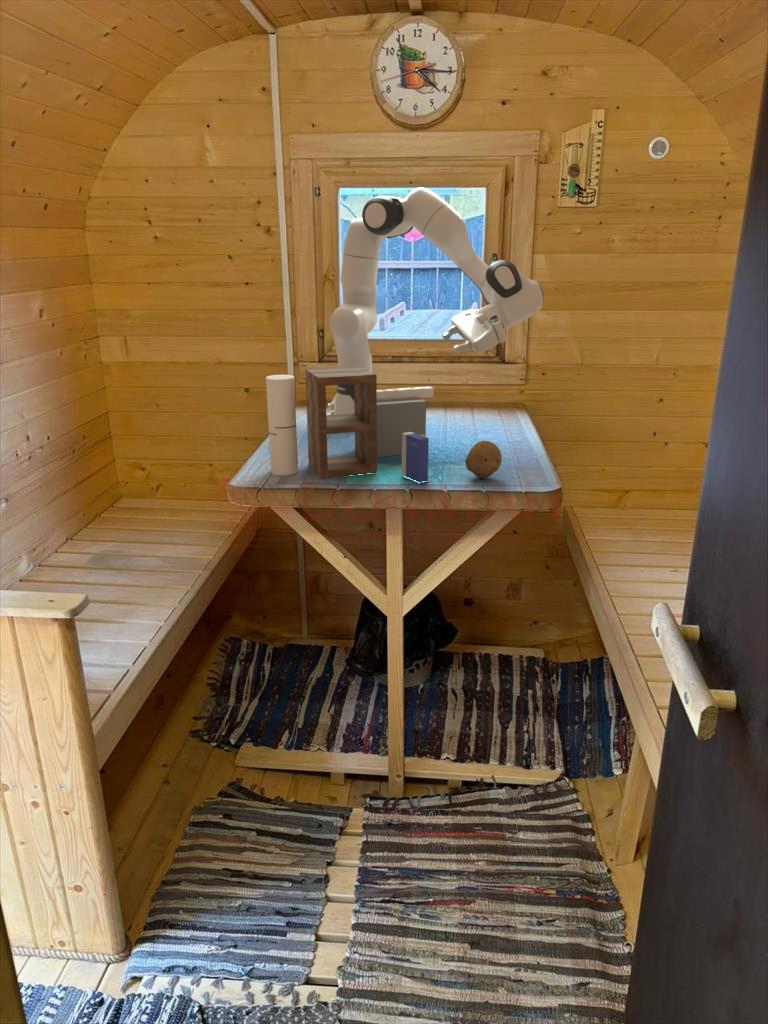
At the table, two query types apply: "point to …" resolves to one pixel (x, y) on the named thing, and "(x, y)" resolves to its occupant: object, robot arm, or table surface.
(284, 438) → the cylindrical container
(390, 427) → the block
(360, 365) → the robot arm
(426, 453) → the walkman
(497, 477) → the table surface
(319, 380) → the walnut shelf
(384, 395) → the tan bar
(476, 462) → the natural sponge
